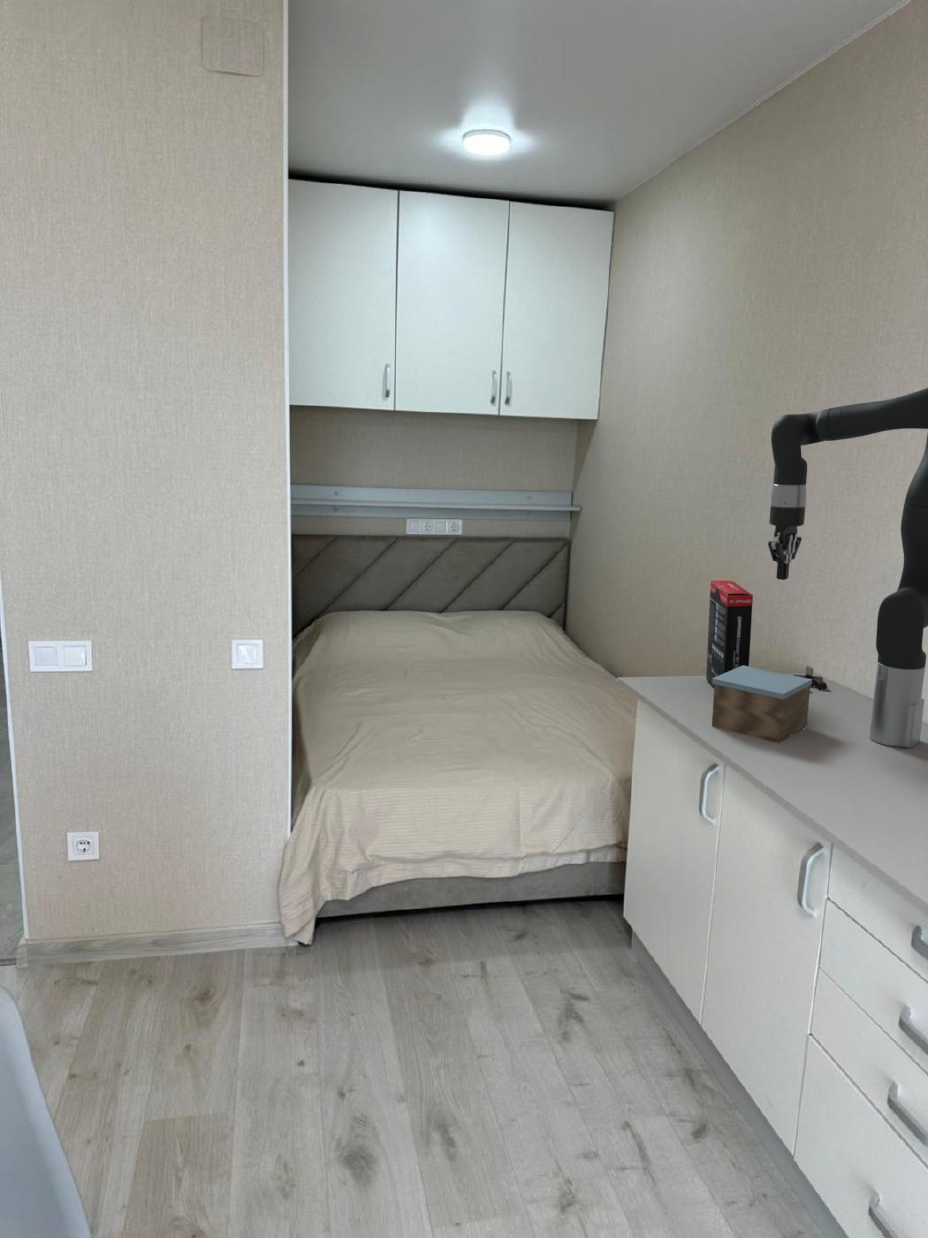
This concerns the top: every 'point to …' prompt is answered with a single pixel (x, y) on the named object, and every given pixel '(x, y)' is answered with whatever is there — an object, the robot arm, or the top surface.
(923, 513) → the robot arm
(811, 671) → the toy gun
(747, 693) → the walnut box
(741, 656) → the graphics card box
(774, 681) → the lid
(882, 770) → the top surface
